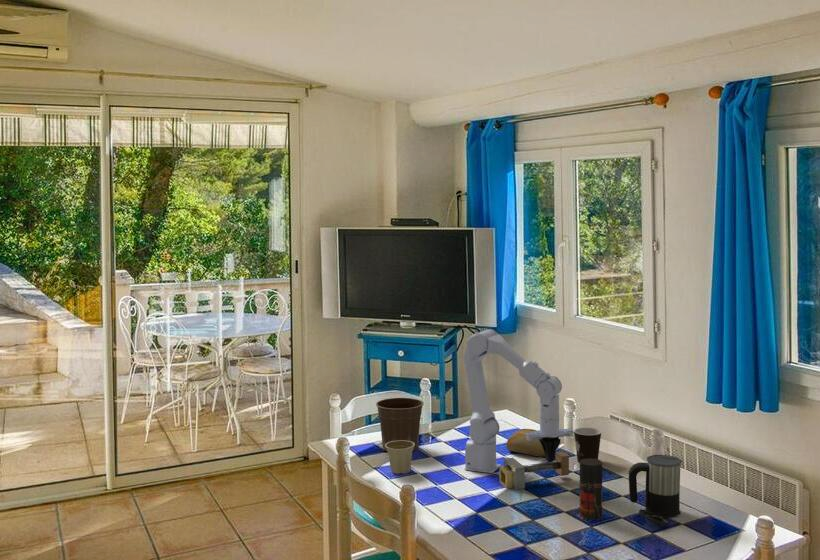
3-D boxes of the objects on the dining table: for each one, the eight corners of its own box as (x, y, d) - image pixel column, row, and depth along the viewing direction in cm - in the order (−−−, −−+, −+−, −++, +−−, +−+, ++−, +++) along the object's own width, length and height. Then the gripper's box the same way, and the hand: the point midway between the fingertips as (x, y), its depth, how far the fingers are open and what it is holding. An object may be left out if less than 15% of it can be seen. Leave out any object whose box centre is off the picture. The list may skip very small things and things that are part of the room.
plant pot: (403, 438, 307) (402, 394, 305) (434, 448, 295) (433, 402, 293) (367, 448, 297) (366, 402, 295) (397, 459, 284) (396, 411, 283)
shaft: (520, 480, 257) (520, 461, 256) (515, 475, 261) (514, 456, 260) (568, 475, 261) (568, 455, 260) (562, 470, 265) (562, 451, 264)
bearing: (515, 489, 254) (515, 468, 253) (503, 479, 263) (503, 458, 262) (524, 488, 255) (524, 467, 254) (513, 478, 264) (512, 457, 263)
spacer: (506, 488, 255) (506, 472, 255) (499, 482, 261) (499, 466, 260) (512, 487, 256) (512, 471, 255) (505, 481, 261) (505, 465, 261)
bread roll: (512, 446, 296) (512, 424, 295) (554, 452, 288) (554, 429, 288) (501, 454, 287) (501, 431, 286) (544, 460, 280) (544, 436, 279)
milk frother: (672, 504, 239) (673, 453, 238) (698, 527, 224) (699, 471, 222) (623, 508, 238) (623, 456, 236) (645, 530, 222) (646, 475, 220)
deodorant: (577, 512, 236) (577, 458, 234) (598, 510, 236) (598, 457, 235) (583, 520, 230) (583, 465, 228) (605, 519, 230) (605, 464, 229)
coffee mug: (601, 466, 273) (601, 435, 272) (573, 465, 275) (573, 434, 274) (600, 454, 284) (600, 425, 283) (574, 453, 286) (574, 424, 285)
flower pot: (380, 474, 270) (380, 447, 269) (392, 464, 279) (392, 439, 278) (408, 477, 267) (408, 450, 266) (419, 467, 275) (419, 441, 274)
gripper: (532, 423, 254) (532, 467, 255) (577, 418, 258) (577, 462, 259) (523, 417, 261) (523, 460, 262) (567, 412, 264) (567, 455, 266)
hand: (549, 461), depth 261 cm, fingers closed
